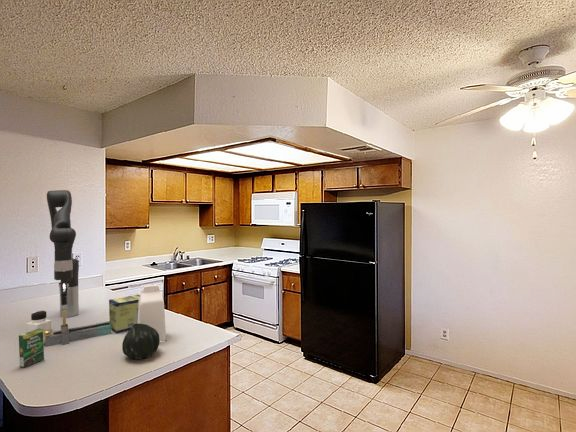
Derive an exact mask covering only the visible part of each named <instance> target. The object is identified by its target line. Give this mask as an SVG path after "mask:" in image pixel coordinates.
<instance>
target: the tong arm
mask: <svg viewBox="0 0 576 432" xmlns="http://www.w3.org/2000/svg"><path fill="white" fill-rule="evenodd" d="M104 325H110V321H109V320H108V321H103V322H98V323H97V322H96V323H94V324H93V323H92V324H87V325H82V326H81V325H80V326H76V327H71V328H68V329H69V332H72V331H78V330H83V329H89V328H94V327H99V326H104ZM56 334H61V329H59V330H54V331H53V330H52V335H56Z"/></svg>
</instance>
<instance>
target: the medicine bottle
mask: <svg viewBox="0 0 576 432" xmlns="http://www.w3.org/2000/svg"><path fill="white" fill-rule="evenodd" d="M47 318H48V316H47V311H45V310H37V311H34V312H32V313H31V317H30V319H31V320H30V322H26V333H27V332H30V331H33V330H36V329H38V328H40V329H43V330H47V329H52V319H47ZM50 335H52V332H51V333H50ZM43 338H44V334H43Z"/></svg>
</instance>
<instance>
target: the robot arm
mask: <svg viewBox="0 0 576 432" xmlns="http://www.w3.org/2000/svg"><path fill="white" fill-rule="evenodd" d="M72 198H73V197H72V194H71V191H69V190H67V189H62V190H61V189H59V190H48V191H47V192H46V202H47V207H48V211H49V216H50V221H51V222H50V225H51V230H50V233H49V240H50V241H51V242H52V243H53V245H54V247H53V248H54V263H53V264H54V265H53V277H54V278H53V279H54V280H55V281H60V282H58V288H59V289H58V290H59V291H58V292H59V316H60V318H62V309H66V318H71V317H76V316H78V315H79V313H80V312H79V311H80V310H79V309H80V306H79V305H80V304H79V271H80V268H79V267H80V263H79V260H78V258H73V247H74V246H73V245H74V243H75V239H76V236H77V232H76V230H75V229H74V228H72V224H71V223H72V222H71V212H72V206H73V199H72ZM57 208H60V209H58V210H57Z"/></svg>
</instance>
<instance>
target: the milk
mask: <svg viewBox="0 0 576 432" xmlns="http://www.w3.org/2000/svg"><path fill="white" fill-rule="evenodd" d="M139 295H140V297H139V302H138V324H146V325H149V326H150V327H152V328H154V329H155V330H156V331H157V332H158V334H159V339H160V340H159V343H161V342H160V341H165V340H166V341H167V332H166V331H167V330H166V316H165V315H166V313H165V303H164V302H165V301H164V299H163V296H162V295H163V294H162V292H161V289H160V286H159V285H158V284H153V285H145V286H143V289H142V291H141V293H140V294H139ZM166 341H165V342H166Z"/></svg>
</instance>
